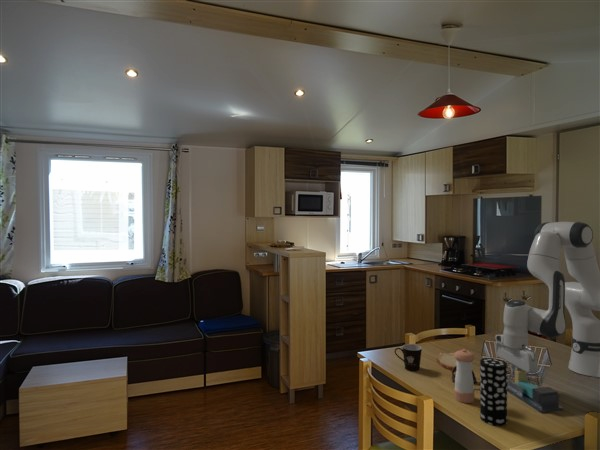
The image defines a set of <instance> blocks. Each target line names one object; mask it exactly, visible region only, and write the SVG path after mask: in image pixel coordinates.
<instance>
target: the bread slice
mask: <svg viewBox="0 0 600 450" xmlns="http://www.w3.org/2000/svg"><path fill="white" fill-rule="evenodd" d="M455 353H456V352H455V351H454V352H449V353H448V352H442V351H439V352H438V354H437V356H436V363H438V365H439V366H440V367H442V368H443V369H444V370H448V371H450V372H452V369H453V368H454V367H455V366H457V360H456V359H455V356H454V355H455ZM456 370H457V369H456ZM456 370H455V371H454V373H456Z"/></svg>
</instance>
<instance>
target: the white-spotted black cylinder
mask: <svg viewBox="0 0 600 450" xmlns="http://www.w3.org/2000/svg"><path fill="white" fill-rule="evenodd" d="M479 362H480V363H479V364H480V365H479V367H480V369H479V371H480V372H479V373H480V378H479V379H480V381H479V383H480V390H479V391H480V392H479V394H480V395H479V396H480V398H479V400H480V402H479V403H480V405H479V407H480V412H479V414H480V415H479V417H480V420H481V421H482V422H484V423H486V424H488V425H489V426H494V427H495V426H496V427H503V426H506V425H507V424H508V391H507V381H508V362H507V361H506V360H503V359H499V358H493V357H484V358H481V359H480V360H479Z"/></svg>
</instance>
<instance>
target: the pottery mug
mask: <svg viewBox="0 0 600 450" xmlns="http://www.w3.org/2000/svg"><path fill="white" fill-rule="evenodd" d="M456 369H457V366H455V367H454V368H453V369H452V371H451V380H452V382H453V383H455V376H456V373H455V372H454V371H455V370H456ZM472 376H473V382H475V384H476V385H477V384H478V382H477V377H476V375H475V373H474V371H473V370H472Z"/></svg>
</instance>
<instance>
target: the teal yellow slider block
mask: <svg viewBox="0 0 600 450" xmlns="http://www.w3.org/2000/svg"><path fill="white" fill-rule="evenodd" d="M514 381H515V383H517V384H519V385H520V386H522V387H524V394H526V395H527V396H529V397H531V398H532V389H533V388H540V387H539V386H537V385H535V384H533V383H531V382H530V381H528V380H527V372H526V371H524V370H522V369H521V370H515V375H514Z"/></svg>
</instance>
